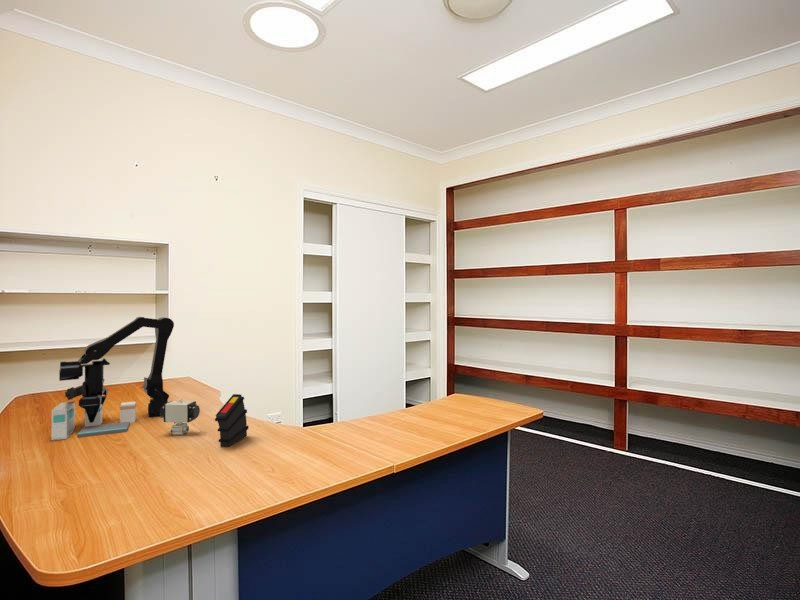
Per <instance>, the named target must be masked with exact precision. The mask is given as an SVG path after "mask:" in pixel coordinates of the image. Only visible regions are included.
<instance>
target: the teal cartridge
mask: <svg viewBox="0 0 800 600" xmlns="http://www.w3.org/2000/svg"><path fill="white" fill-rule="evenodd" d="M102 423H103V406H102V404H101V405H100V408H99V410H98V412H97V415H96V417H95V420H94V422H92V423H90V422H89V419H88V415H87V412H86V410H85V409H84V427H86V426H95V425H102Z"/></svg>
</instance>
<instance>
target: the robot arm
mask: <svg viewBox="0 0 800 600" xmlns="http://www.w3.org/2000/svg"><path fill="white" fill-rule="evenodd" d="M174 327H175V323H174V321H173V320H172V318H170V317H169V318H168V317H159V318H149V317H143V316H138V317H136V318H135V319H133V320H132V321H131V322H128V323H127V324H126V325H124V326H123V327H121V328H120V329H118V330H116V331H114V332H113V333H112V334H110V335H108V336H107V337H105V338H102V339H99V340H97V341H95V342H92V343H90V344H88V345H87V346H86V347H85V348H84V353H83V355H82V356H80V358H79V359H78V360H75V361H65V360H64V361H60V362H59V370H58V371H59V372H58V379H59V381H60V382H62V381H72V380H79V379H80V378H81V377H83V375H84V381H83V382H82V384H81V385H78V386H76V387H74V386H72V387H70V388H67V389H66V391H65V392H64V394H65V395H64V397H65V398H67V400H68V401H70V400H73V399H74V398H77V397H79V396H82V397H81V398H80V399H79V400H78V406H79V407H80V408H82V409H84V411H85V410H86V412H87V415H88V419H89V422H90V423H92V422H94V420H95V417H96V415H97V412H98V410H99V408H100V405H101V404H102V407H103V406H104V403H105V401H106V399H107V397H108V392H109V391H108V390H109V389H107V388H106V387H104V382H105V378H104V367H105V366H110V362H109V361H107V359H106V358H103V357H104V356H106V354H107V353H109V352H110V350H111V349H112V348H113V347H115V345H117V344H119V343H120V342H121V341H123V340H125V339H126V338H128V337H129V336H131V335H132V334H134V333H135V332H137V331H138V330H140V329H142V328H152V329H154V333H155V335H154V336H155V343H154V350H153V356H152V360H151V367H150V372H149V375H148V376H147V377H143V385H142V386H141V387H142V388H143V391H144V393H145V394H146V395H147V396H148V397H149V398H150V400H149V403H147V415H148V417H150V418H152V417H161V416H160V410H161V408H162V406H163V405H164V404H166V403H168V402H169V397H170V394H169V393H167V392H166V391H164V382H163V381H164V380H163V370H164V365H165V363H164V362H165V359H166V358H165V357H166V352H167V346H168V345H167V344H168V340H169V339H170V337H171V335H172V332H173V330H174ZM100 359H101V360H100ZM83 368H84V369H83ZM83 371H84V372H83ZM83 373H84V374H83Z"/></svg>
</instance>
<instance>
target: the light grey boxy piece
mask: <svg viewBox="0 0 800 600" xmlns="http://www.w3.org/2000/svg"><path fill="white" fill-rule="evenodd" d="M136 409H137V401H123V402H121V404H120V407H119V411H120V412H119V414H120V415H119V416H120V419H119V423H123V422H130V424H131V423H135V422H136V419H137V410H136Z"/></svg>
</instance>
